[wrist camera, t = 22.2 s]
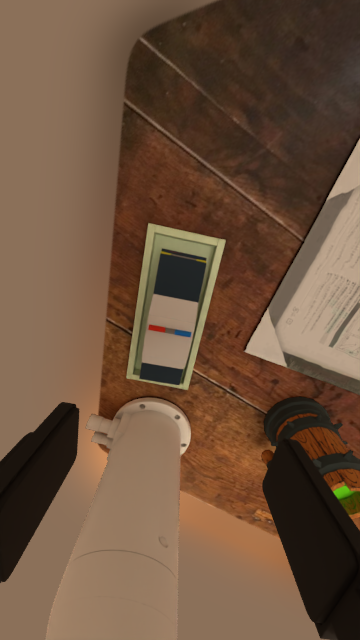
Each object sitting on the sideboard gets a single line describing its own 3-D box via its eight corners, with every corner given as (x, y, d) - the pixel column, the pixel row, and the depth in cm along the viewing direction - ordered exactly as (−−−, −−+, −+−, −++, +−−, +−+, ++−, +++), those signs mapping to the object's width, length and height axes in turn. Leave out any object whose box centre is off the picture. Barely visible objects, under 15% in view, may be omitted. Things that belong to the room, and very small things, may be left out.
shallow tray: (130, 370, 28) (125, 378, 26) (151, 226, 22) (148, 222, 20) (187, 381, 28) (187, 390, 26) (222, 242, 23) (225, 240, 21)
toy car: (204, 258, 23) (212, 255, 18) (178, 375, 27) (179, 399, 22) (162, 249, 23) (159, 244, 18) (142, 369, 27) (135, 392, 22)
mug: (303, 382, 28) (382, 460, 17) (340, 424, 30) (432, 519, 19) (234, 430, 31) (262, 524, 20) (271, 465, 33) (317, 569, 21)
